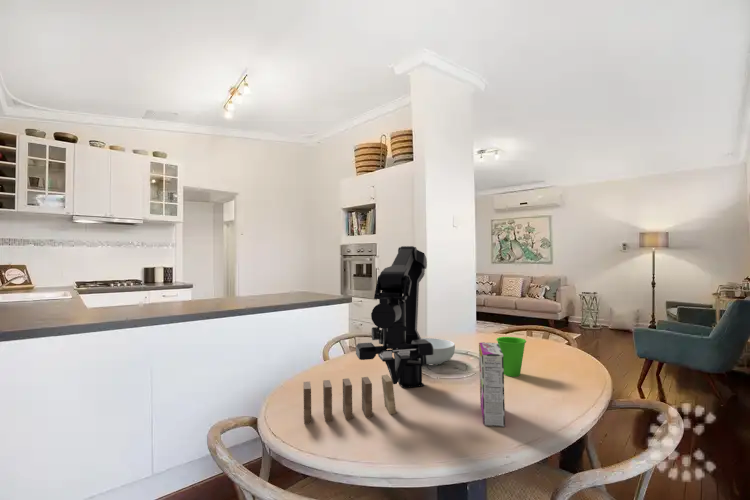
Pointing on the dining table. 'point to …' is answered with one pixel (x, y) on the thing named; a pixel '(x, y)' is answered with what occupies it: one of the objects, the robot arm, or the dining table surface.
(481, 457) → the dining table surface
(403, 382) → the robot arm
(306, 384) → the domino
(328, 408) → the domino
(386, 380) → the domino
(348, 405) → the domino
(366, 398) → the domino
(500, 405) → the candy bar box
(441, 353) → the cereal bowl
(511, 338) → the cup
